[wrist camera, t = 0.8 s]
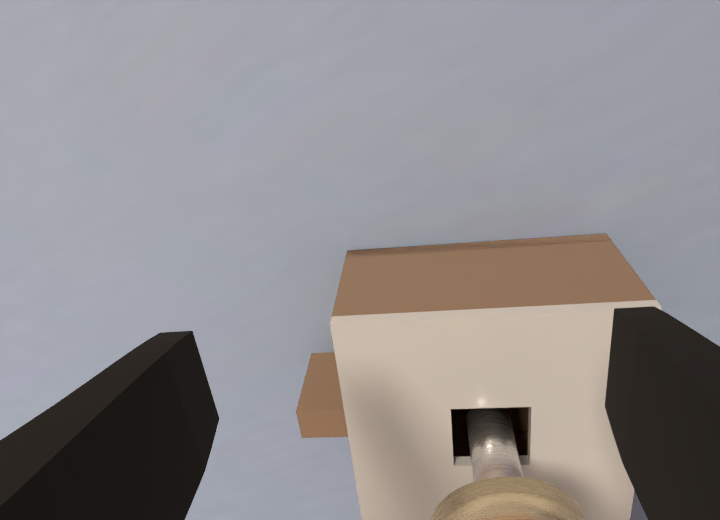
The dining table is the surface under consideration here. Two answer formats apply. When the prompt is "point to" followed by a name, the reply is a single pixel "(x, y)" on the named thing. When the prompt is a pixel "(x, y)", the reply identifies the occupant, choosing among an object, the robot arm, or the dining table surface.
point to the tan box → (474, 367)
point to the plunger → (502, 479)
